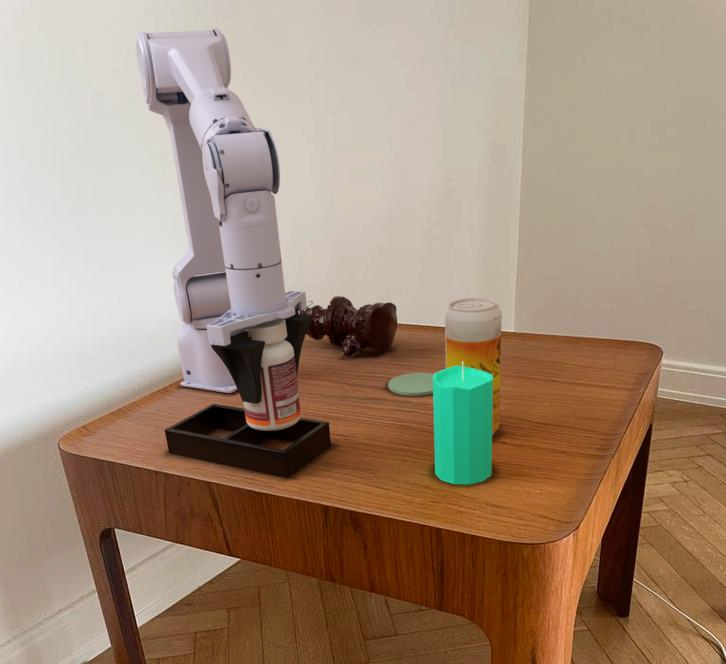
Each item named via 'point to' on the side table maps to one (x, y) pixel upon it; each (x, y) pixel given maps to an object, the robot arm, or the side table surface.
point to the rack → (247, 441)
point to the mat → (412, 384)
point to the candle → (463, 424)
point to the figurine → (354, 325)
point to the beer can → (476, 341)
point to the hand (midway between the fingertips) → (269, 391)
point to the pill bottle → (275, 380)
